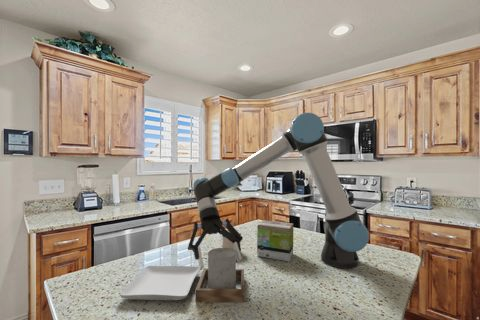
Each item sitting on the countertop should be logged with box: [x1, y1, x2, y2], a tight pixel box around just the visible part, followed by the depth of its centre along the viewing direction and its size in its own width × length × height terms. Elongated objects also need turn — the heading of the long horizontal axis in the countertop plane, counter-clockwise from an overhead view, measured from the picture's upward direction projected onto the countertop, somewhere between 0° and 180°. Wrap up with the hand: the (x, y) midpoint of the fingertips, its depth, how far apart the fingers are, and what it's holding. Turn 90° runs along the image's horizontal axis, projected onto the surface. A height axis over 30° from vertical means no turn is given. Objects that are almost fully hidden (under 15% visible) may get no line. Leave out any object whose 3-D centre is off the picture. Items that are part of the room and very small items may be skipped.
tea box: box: [256, 219, 294, 262], centre depth 111 cm, size 15×10×15 cm, turn 68°
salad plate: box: [119, 265, 201, 301], centre depth 82 cm, size 21×21×3 cm
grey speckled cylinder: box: [207, 247, 237, 289], centre depth 81 cm, size 10×10×12 cm
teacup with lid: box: [221, 229, 242, 250], centre depth 116 cm, size 12×9×12 cm
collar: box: [195, 268, 245, 303], centre depth 81 cm, size 15×15×4 cm
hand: (221, 264), depth 81 cm, fingers open, 13 cm apart
